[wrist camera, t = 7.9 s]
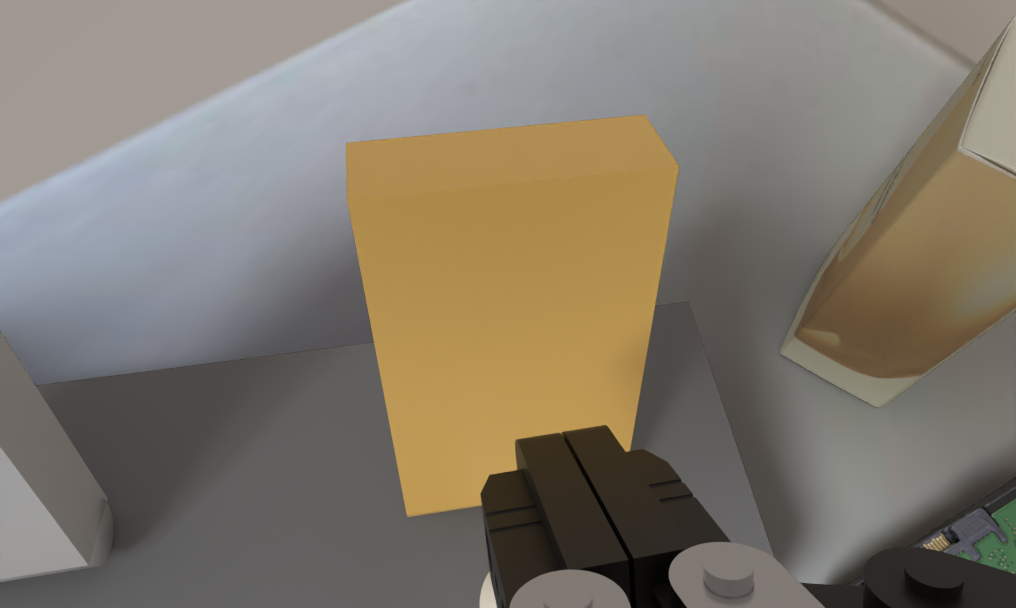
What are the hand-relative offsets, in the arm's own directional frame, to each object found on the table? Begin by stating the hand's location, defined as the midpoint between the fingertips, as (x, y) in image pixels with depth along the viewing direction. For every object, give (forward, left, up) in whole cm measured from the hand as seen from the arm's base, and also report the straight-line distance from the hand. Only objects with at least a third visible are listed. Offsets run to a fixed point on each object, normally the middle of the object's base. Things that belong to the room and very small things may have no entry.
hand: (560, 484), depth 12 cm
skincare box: (+15, +8, -13) cm, 22 cm away
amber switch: (0, +3, -8) cm, 9 cm away
